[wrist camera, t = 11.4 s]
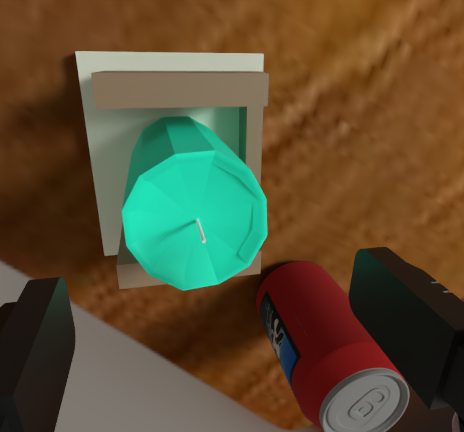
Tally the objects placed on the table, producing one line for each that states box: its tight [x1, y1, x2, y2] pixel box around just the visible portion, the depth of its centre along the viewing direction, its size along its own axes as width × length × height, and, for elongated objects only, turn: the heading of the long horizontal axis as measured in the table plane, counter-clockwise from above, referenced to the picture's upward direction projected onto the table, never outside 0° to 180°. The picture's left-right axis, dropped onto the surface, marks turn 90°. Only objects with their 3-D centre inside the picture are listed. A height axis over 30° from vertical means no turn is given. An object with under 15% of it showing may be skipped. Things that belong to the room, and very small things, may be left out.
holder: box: [75, 51, 269, 289], centre depth 22 cm, size 13×11×7 cm
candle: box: [122, 116, 267, 291], centre depth 19 cm, size 6×6×12 cm
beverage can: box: [256, 261, 409, 432], centre depth 26 cm, size 7×7×12 cm
